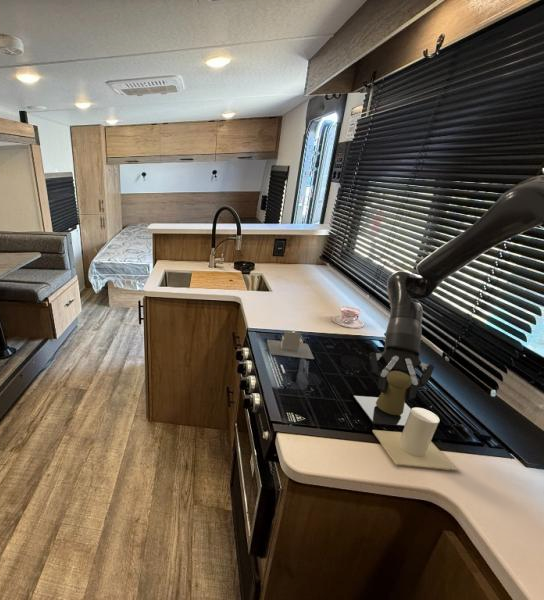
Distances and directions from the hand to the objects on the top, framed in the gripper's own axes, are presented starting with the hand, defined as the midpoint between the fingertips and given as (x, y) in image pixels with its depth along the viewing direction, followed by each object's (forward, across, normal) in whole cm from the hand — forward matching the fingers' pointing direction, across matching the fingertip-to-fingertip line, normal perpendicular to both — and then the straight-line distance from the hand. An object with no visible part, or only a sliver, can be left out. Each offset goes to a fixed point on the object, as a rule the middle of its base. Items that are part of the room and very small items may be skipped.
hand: (395, 395), depth 81 cm
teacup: (-38, -10, +48) cm, 62 cm away
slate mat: (+4, 0, +6) cm, 7 cm away
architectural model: (-12, -28, +22) cm, 38 cm away
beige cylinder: (+12, +3, -3) cm, 13 cm away
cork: (+3, 0, +5) cm, 6 cm away
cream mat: (+13, +3, -3) cm, 13 cm away
